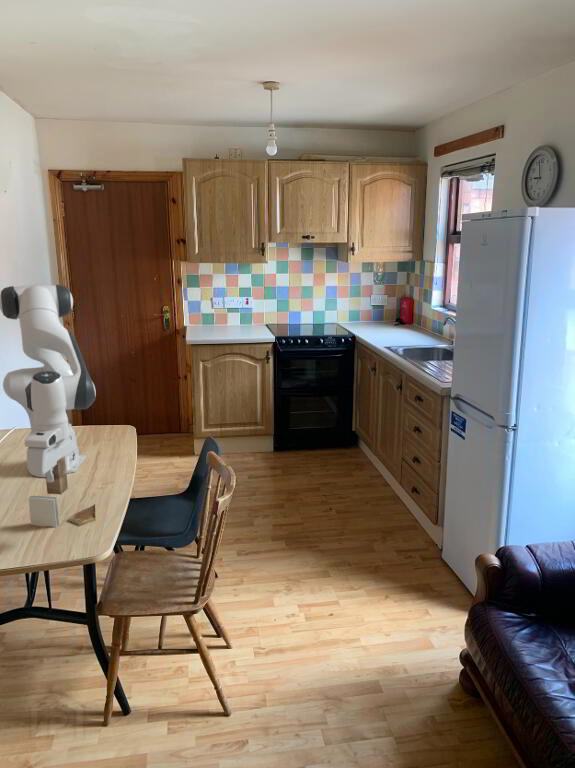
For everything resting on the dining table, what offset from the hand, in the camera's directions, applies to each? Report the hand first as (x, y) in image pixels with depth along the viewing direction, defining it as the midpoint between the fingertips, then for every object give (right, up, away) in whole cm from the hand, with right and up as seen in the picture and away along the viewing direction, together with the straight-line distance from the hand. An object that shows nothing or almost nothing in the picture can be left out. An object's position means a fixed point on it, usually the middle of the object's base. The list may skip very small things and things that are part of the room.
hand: (56, 477), depth 164 cm
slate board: (-8, -16, +11) cm, 21 cm away
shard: (+2, -16, +17) cm, 23 cm away
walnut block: (0, -4, +1) cm, 4 cm away
